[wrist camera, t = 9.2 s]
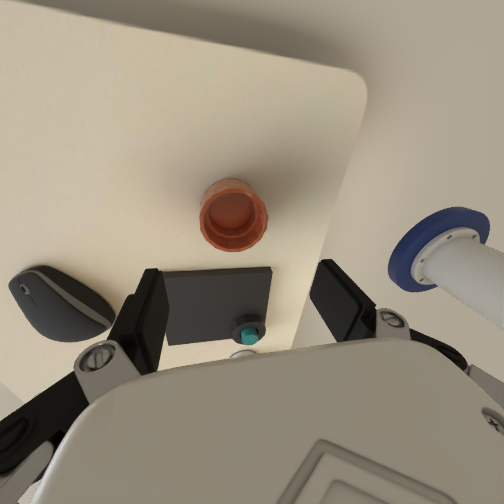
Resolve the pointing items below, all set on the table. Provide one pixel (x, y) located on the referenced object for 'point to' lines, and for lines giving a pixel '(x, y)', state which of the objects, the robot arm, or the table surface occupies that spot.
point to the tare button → (249, 336)
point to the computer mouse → (60, 305)
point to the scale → (216, 304)
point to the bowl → (232, 216)
